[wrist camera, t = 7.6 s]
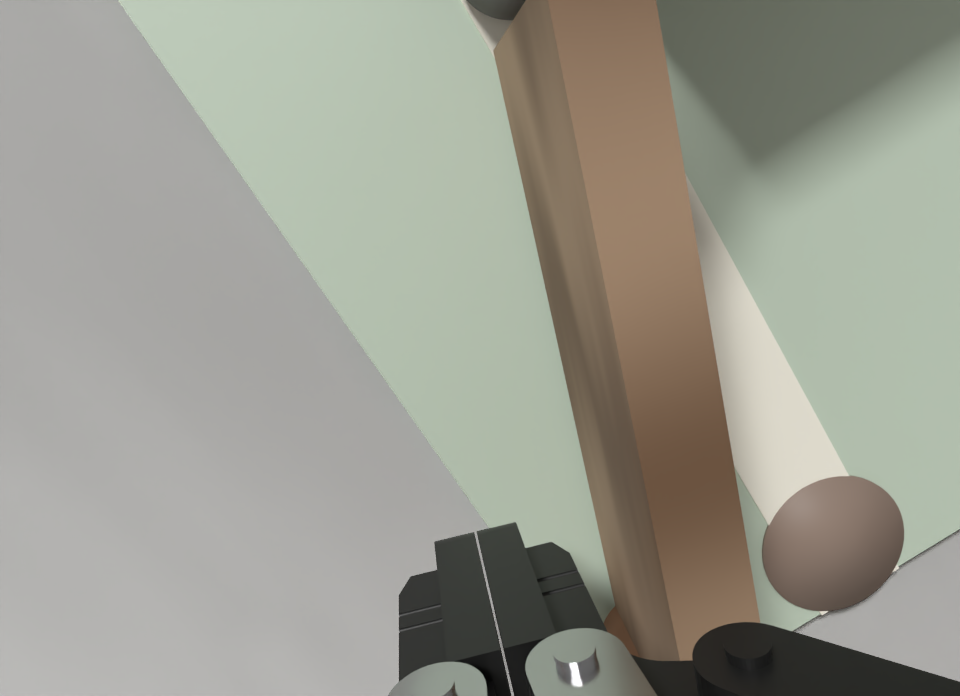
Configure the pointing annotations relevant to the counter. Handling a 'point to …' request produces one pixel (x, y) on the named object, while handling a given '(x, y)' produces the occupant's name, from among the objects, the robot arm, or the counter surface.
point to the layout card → (719, 235)
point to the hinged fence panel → (628, 312)
